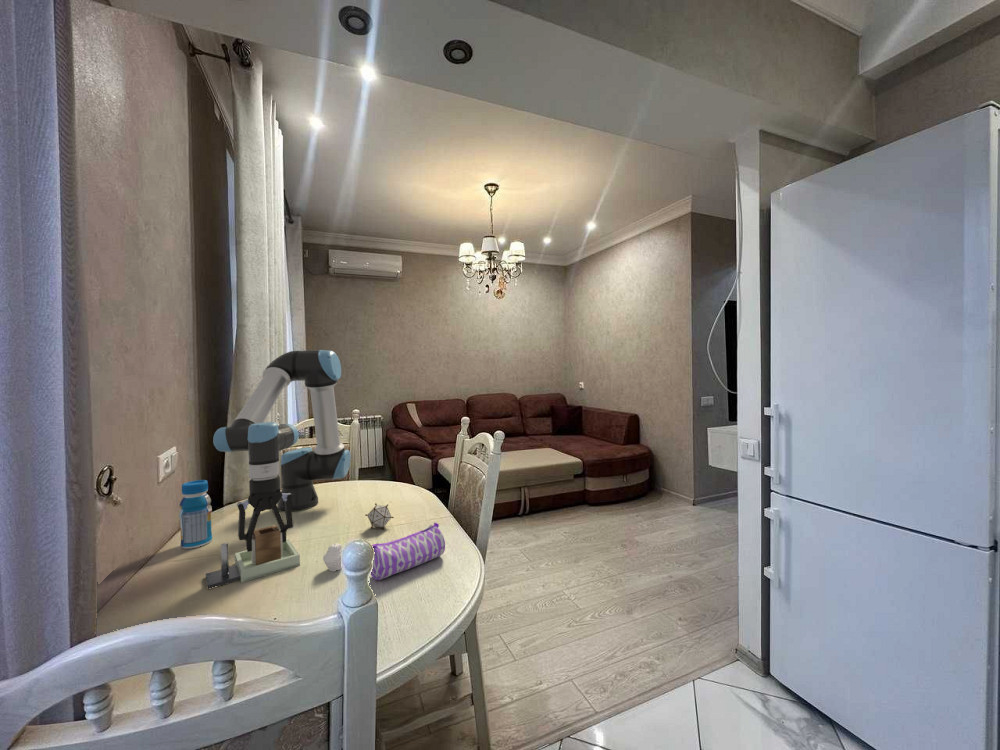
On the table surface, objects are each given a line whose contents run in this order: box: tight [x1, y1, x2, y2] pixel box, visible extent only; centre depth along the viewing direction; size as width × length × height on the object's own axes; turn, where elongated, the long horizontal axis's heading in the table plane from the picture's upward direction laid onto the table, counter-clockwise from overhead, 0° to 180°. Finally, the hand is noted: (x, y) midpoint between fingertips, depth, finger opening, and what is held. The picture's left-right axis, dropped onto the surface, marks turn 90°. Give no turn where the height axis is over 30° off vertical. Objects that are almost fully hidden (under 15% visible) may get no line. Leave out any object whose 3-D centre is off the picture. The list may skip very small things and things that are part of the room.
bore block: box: [253, 524, 281, 565], centre depth 114 cm, size 6×6×8 cm
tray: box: [234, 539, 301, 583], centre depth 114 cm, size 14×14×3 cm
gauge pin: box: [205, 542, 241, 590], centre depth 106 cm, size 8×8×9 cm
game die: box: [364, 502, 395, 531], centre depth 139 cm, size 9×8×10 cm
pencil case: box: [370, 522, 446, 581], centre depth 110 cm, size 22×9×10 cm, turn 137°
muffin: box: [322, 543, 344, 572], centre depth 110 cm, size 6×6×7 cm
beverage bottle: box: [178, 479, 213, 550], centre depth 129 cm, size 8×8×20 cm
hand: (267, 557), depth 114 cm, fingers closed on bore block, 6 cm apart
